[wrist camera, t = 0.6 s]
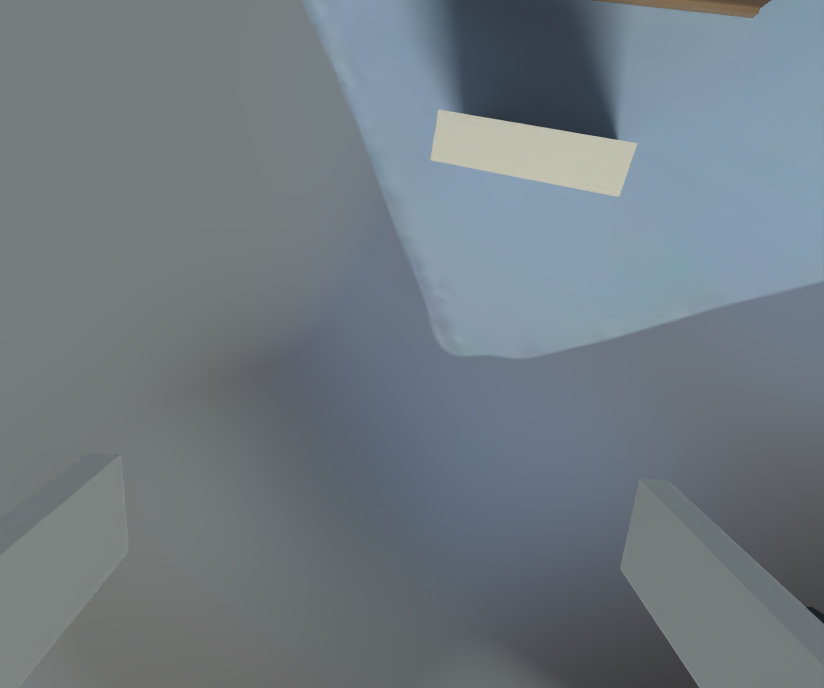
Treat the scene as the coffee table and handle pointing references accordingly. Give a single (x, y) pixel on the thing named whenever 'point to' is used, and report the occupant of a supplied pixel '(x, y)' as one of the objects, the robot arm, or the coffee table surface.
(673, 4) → the rack
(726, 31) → the coffee table surface
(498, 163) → the cream rectangular block
